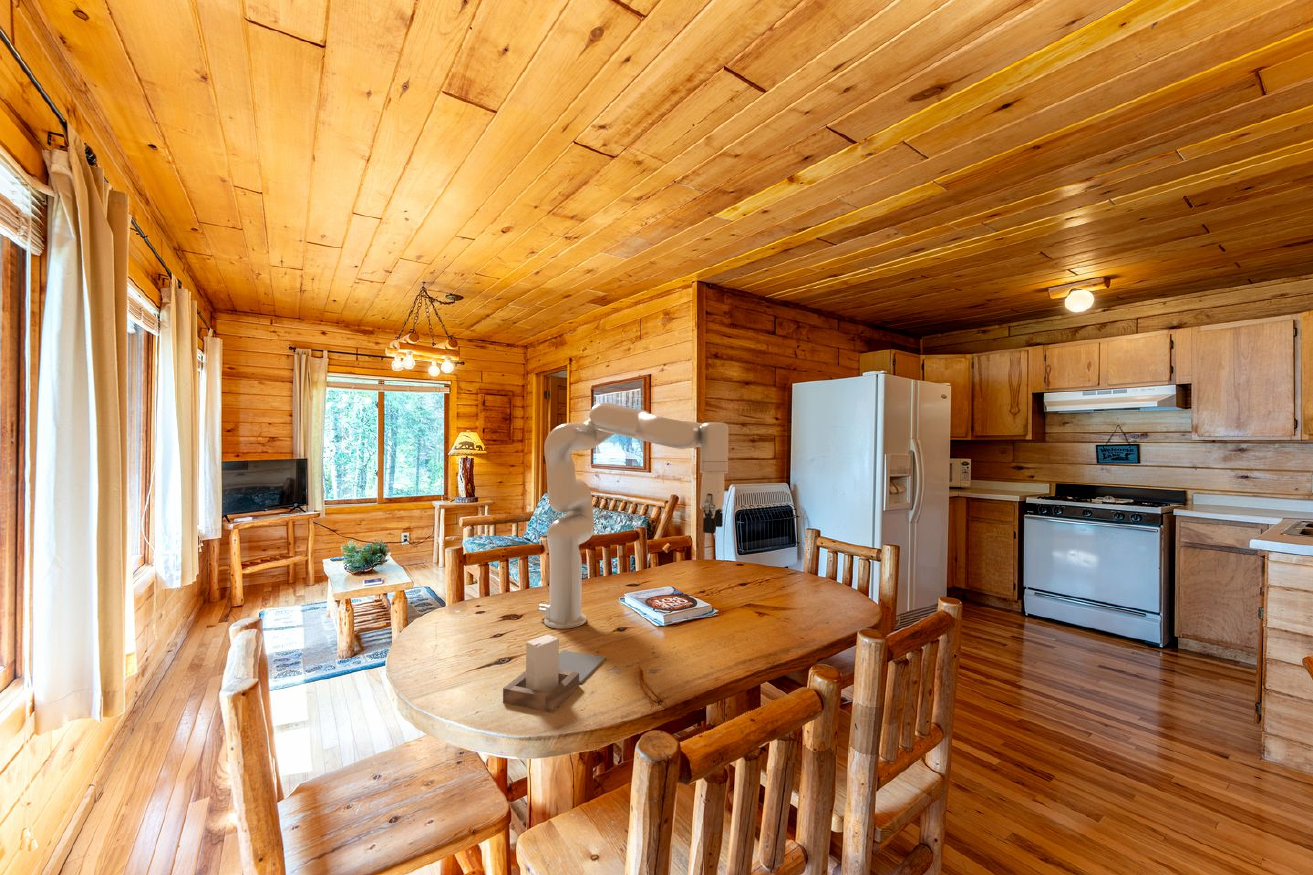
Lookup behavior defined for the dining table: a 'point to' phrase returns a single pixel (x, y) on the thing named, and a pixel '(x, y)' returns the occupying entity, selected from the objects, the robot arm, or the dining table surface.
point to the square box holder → (541, 692)
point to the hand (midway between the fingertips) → (713, 529)
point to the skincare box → (542, 663)
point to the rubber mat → (579, 663)
